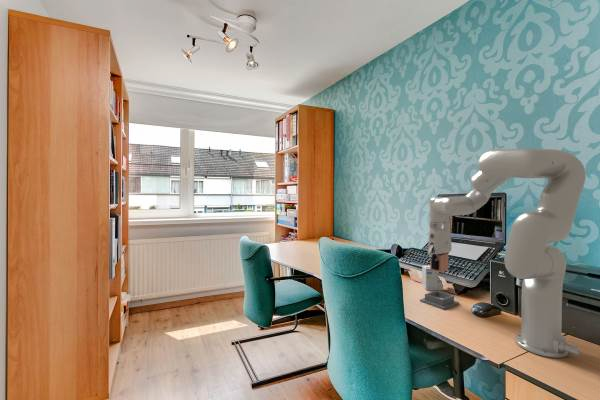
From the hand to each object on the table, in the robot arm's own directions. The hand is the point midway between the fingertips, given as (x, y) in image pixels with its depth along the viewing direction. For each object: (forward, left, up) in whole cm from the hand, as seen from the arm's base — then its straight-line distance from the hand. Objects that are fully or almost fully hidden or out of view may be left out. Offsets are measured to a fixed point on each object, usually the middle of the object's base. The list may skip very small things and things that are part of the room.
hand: (439, 267), depth 126 cm
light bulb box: (+12, -15, -15) cm, 25 cm away
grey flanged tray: (0, 0, -15) cm, 15 cm away
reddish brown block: (0, 0, -1) cm, 1 cm away
